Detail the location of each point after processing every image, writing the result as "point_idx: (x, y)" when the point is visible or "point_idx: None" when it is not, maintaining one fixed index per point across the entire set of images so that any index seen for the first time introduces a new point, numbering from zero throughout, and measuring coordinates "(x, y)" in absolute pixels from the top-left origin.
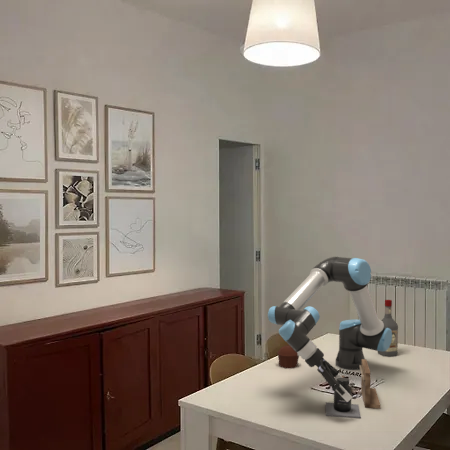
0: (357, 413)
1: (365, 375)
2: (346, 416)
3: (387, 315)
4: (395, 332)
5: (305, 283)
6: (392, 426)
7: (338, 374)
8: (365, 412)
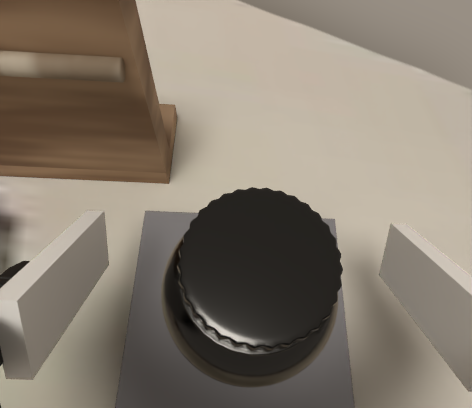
0: None
1: (123, 19)
2: (340, 298)
3: None
4: None
5: None
6: (383, 105)
7: (10, 309)
8: None
